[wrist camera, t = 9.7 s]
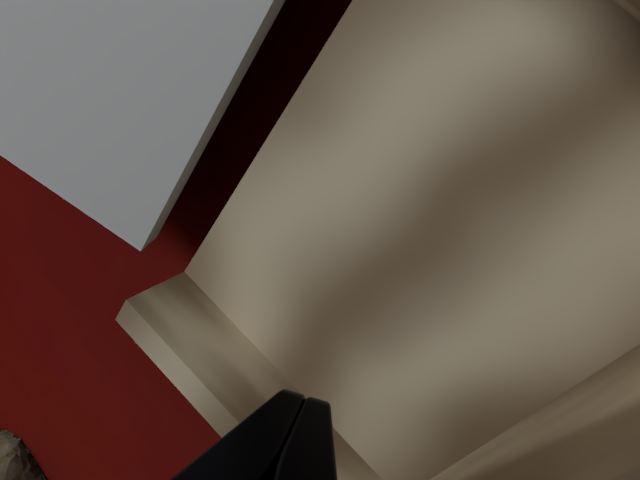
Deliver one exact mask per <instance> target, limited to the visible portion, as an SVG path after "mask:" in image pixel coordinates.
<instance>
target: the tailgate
mask: <svg viewBox="0 0 640 480" xmlns="http://www.w3.org/2000/svg"><path fill="white" fill-rule="evenodd" d="M284 2H285V0H0V155H1V156H2V157H4V158H5V159H7V160H8V161H10V162H11V163H13V164H14V165H15V166H17V167H18V168H20V169H21V170H23V171H24V172H26V173H27V174H29V175H30V176H31V177H33V178H34V179H36V180H37V181H39V182H40V183H42V184H43V185H45V186H46V187H48V188H49V189H50V190H52V191H53V192H55V193H56V194H58V195H59V196H61V197H62V198H64V199H65V200H66V201H68V202H69V203H71V204H72V205H74V206H75V207H77V208H78V209H80V210H81V211H83V212H84V213H85V214H87V215H88V216H90V217H91V218H93V219H94V220H96V221H97V222H99V223H100V224H101V225H103V226H104V227H106V228H107V229H109V230H110V231H112V232H113V233H115V234H116V235H117V236H119V237H120V238H122V239H123V240H125V241H126V242H128V243H129V244H131V245H132V246H134V247H135V248H136V249H138V250H139V251H142V250H143V249H144V248H145V247H146V246H147V245H148V244H149V243H151V242H152V241H153V240H154V239H155V238H156V237H157V236H158V234H159V232H160V230H161V228H162V226H163V225H164V223H165V221H166V219H167V217H168V215H169V214H170V212H171V210H172V208H173V206H174V204H175V203H176V201H177V199H178V197H179V195H180V193H181V191H182V190H183V188H184V186H185V184H186V182H187V180H188V179H189V177H190V175H191V173H192V171H193V169H194V168H195V166H196V164H197V162H198V160H199V158H200V157H201V155H202V153H203V151H204V149H205V147H206V146H207V144H208V142H209V140H210V138H211V136H212V134H213V133H214V131H215V129H216V127H217V125H218V123H219V122H220V120H221V118H222V116H223V114H224V112H225V111H226V109H227V107H228V105H229V103H230V101H231V100H232V98H233V96H234V94H235V92H236V90H237V88H238V87H239V85H240V83H241V81H242V79H243V77H244V76H245V74H246V72H247V70H248V68H249V66H250V65H251V63H252V61H253V59H254V57H255V55H256V54H257V52H258V50H259V48H260V46H261V44H262V42H263V41H264V39H265V37H266V35H267V33H268V31H269V30H270V28H271V26H272V24H273V22H274V20H275V19H276V17H277V15H278V13H279V11H280V9H281V8H282V6H283V4H284Z"/></svg>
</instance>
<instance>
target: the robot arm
mask: <svg viewBox="0 0 640 480" xmlns="http://www.w3.org/2000/svg"><path fill="white" fill-rule="evenodd" d="M170 480H337V469H336V458H335V447H334V436H333V425H332V413H331V406H330V403H329V402H327V401H324V400H320V399H317V398H314V397H307V398H305V396H304V395H303V394H301V393H298V392H294V391H291V390H288V389H282V390H280V391H279V392H278V393H276V394H275V395H274V396H273V397H271V398H270V399H269V400H268V401H266V402H265V403H264V404H263V405H261V406H260V407H259V408H258V409H257V410H255V411H254V412H253V413H252V414H250V415H249V416H248V417H247V418H245V419H244V420H243V421H242V422H240V423H239V424H238V425H237V426H236V427H234V428H233V429H232V430H231V431H229V432H228V433H227V434H226V435H224V436H223V437H222V438H221V439H220V440H218V441H217V442H216V443H215V444H213V445H212V446H211V447H210V448H208V449H207V450H206V451H205V452H203V453H202V454H201V455H200V456H199V457H197V458H196V459H195V460H194V461H192V462H191V463H190V464H189V465H187V466H186V467H185V468H184V469H183V470H181V471H180V472H179V473H178V474H176V475H175V476H174V477H173V478H171V479H170Z"/></svg>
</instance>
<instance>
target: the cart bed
mask: <svg viewBox="0 0 640 480" xmlns="http://www.w3.org/2000/svg"><path fill="white" fill-rule="evenodd" d="M115 320H116V321H117V322H118V323H119V324H120V325H121V326H122V328H123V329H124V330H125V331H126V332H127V333H128V334H129V335H130V336H131V338H132V339H133V340H134V341H135V342H136V343H137V344H138V345H139V346H140V348H141V349H142V350H143V351H144V352H145V353H146V354H147V355H148V356H149V357H150V359H151V360H152V361H153V362H154V363H155V364H156V365H157V366H158V367H159V369H160V370H161V371H162V372H163V373H164V374H165V375H166V376H167V377H168V379H169V380H170V381H171V382H172V383H173V384H174V385H175V386H176V387H177V389H178V390H179V391H180V392H181V393H182V394H183V395H184V396H185V397H186V398H187V400H188V401H189V402H190V403H191V404H192V405H193V406H194V407H195V408H196V410H197V411H198V412H199V413H200V414H201V415H202V416H203V417H204V418H205V420H206V421H207V422H208V423H209V424H210V425H211V426H212V427H213V428H214V430H215V431H216V432H217V433H218V434H219V435H220V436H221V437H223V436H224V435H226V434H227V433H228V432H229V431H231V430H232V429H233V428H234V427H236V426H237V425H238V424H239V423H240V422H242V421H243V420H244V419H245V418H247V417H248V416H249V415H250V414H252V413H253V412H254V411H255V410H257V409H258V408H259V407H260V406H261V405H263V404H264V403H265V402H266V401H268V400H269V399H270V398H271V397H273V396H274V395H275V394H276V393H278V392H279V391H280V390H282V389H288V390H291V391H294V392H298V393H301V394H303V395H304V396H305V398H307V397H314V398H317V399H320V400H324V401H327V402H329V403H330V406H331V413H332V425H333V436H334V447H335V458H336V469H337V480H640V0H352V2H351V3H350V5H349V7H348V8H347V10H346V12H345V13H344V15H343V16H342V18H341V20H340V21H339V23H338V24H337V26H336V28H335V29H334V31H333V33H332V34H331V36H330V37H329V39H328V41H327V42H326V44H325V45H324V47H323V49H322V50H321V52H320V54H319V55H318V57H317V58H316V60H315V62H314V63H313V65H312V66H311V68H310V70H309V71H308V73H307V75H306V76H305V78H304V79H303V81H302V83H301V84H300V86H299V87H298V89H297V91H296V92H295V94H294V95H293V97H292V99H291V100H290V102H289V104H288V105H287V107H286V108H285V110H284V112H283V113H282V115H281V116H280V118H279V120H278V121H277V123H276V125H275V126H274V128H273V129H272V131H271V133H270V134H269V136H268V137H267V139H266V141H265V142H264V144H263V146H262V147H261V149H260V150H259V152H258V154H257V155H256V157H255V158H254V160H253V162H252V163H251V165H250V167H249V168H248V170H247V171H246V173H245V175H244V176H243V178H242V179H241V181H240V183H239V184H238V186H237V187H236V189H235V191H234V192H233V194H232V196H231V197H230V199H229V200H228V202H227V204H226V205H225V207H224V208H223V210H222V212H221V213H220V215H219V217H218V218H217V220H216V221H215V223H214V225H213V226H212V228H211V229H210V231H209V233H208V234H207V236H206V238H205V239H204V241H203V242H202V244H201V246H200V247H199V249H198V250H197V252H196V254H195V255H194V257H193V258H192V260H191V262H190V263H189V265H188V267H187V268H186V270H185V271H184V272H183V273H181V274H178V275H176V276H174V277H172V278H170V279H168V280H166V281H164V282H162V283H160V284H158V285H156V286H154V287H152V288H150V289H147V290H145V291H143V292H141V293H139V294H137V295H135V296H133V297H131V298H129V299H127V300H126V301H125V303H124V305H123V306H122V308H121V310H120V312H119V314H118V316H117V317H116V319H115Z"/></svg>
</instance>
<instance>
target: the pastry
mask: <svg viewBox="0 0 640 480" xmlns="http://www.w3.org/2000/svg"><path fill="white" fill-rule="evenodd" d="M30 453H31V452H29V450H28V449H27V448H26V447H25V446H24V445H23V444H22V442H21V441H20V439H18V438H17V437H15V436H14V434H13V433H11V432H9V431H7V430H3V431H1V432H0V480H46V479H45V478H44V475H43V473H42V472H41V471H40V467H39V466H38V464H37V463H36V461H35V459H34V458H33V457H32V456H31V454H30Z"/></svg>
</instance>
